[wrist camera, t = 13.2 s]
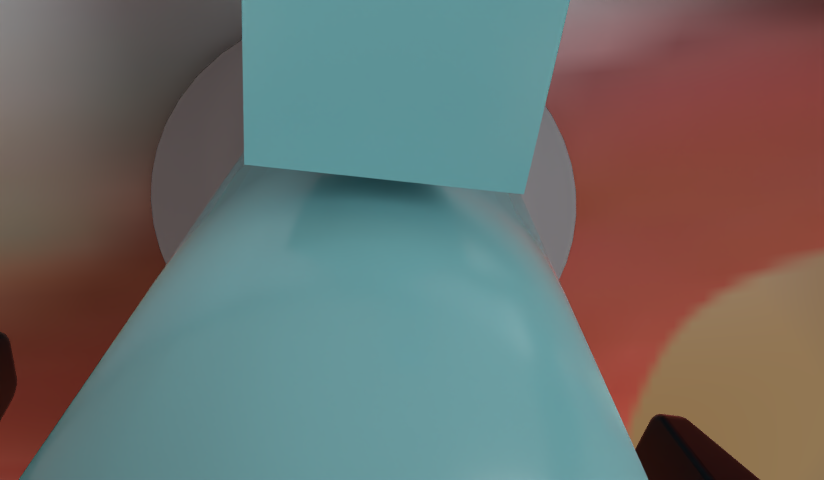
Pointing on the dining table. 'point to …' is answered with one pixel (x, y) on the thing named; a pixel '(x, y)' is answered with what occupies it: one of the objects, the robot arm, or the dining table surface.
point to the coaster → (224, 143)
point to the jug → (362, 273)
